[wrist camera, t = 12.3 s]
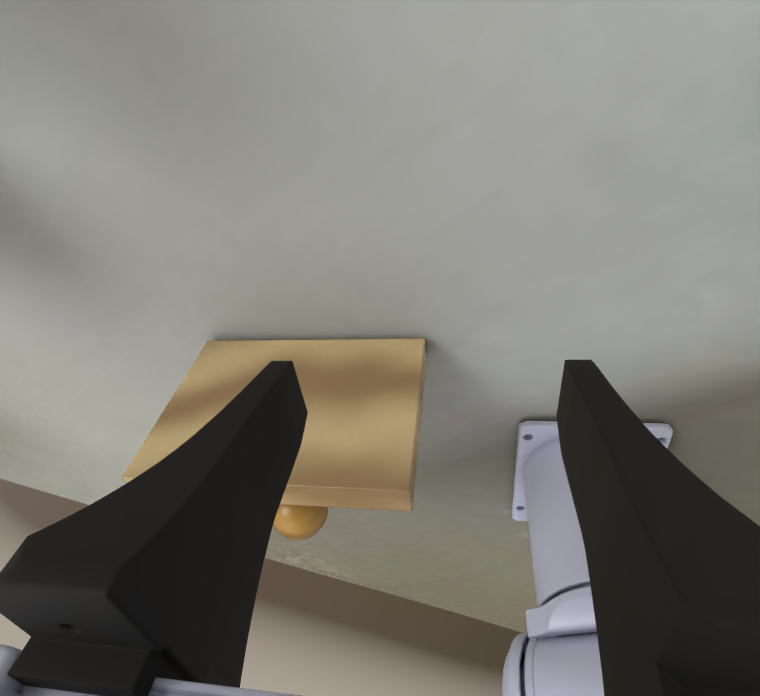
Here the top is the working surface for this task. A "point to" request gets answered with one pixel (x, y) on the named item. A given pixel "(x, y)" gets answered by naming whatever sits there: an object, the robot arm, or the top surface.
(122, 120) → the top surface
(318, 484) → the wooden knob panel
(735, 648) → the robot arm
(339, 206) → the top surface
